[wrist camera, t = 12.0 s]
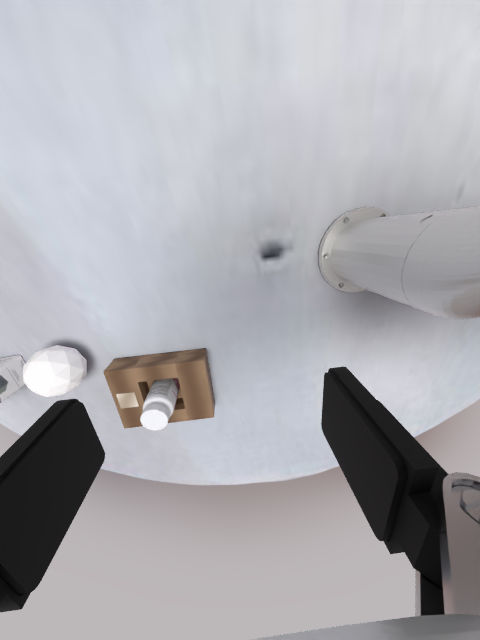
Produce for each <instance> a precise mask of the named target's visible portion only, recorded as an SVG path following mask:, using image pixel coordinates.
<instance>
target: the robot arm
mask: <svg viewBox="0 0 480 640" xmlns="http://www.w3.org/2000/svg"><path fill="white" fill-rule="evenodd" d="M343 220H344V223H343ZM323 255H325V257H323ZM318 260H319V267H320V271H321V273H322V275H323V277H324V279H325V280H326V281H327V282H328V283H329V284H330V285H331V286H333V287H334V288H336V289H338V290H341V291H344V292H351V293H354V292H361V291H365V290H368V291H371V292H374V293H376V294H379V295H382V296H384V297H387V298H389V299H392V300H395V301H397V302H400V303H403V304H405V305H408V306H410V307H413V308H416V309H418V310H421V311H424V312H427V313H429V314H432V315H435V316H439V317H443V318H449V319H470V318H477V317H480V206H474V207H466V208H457V209H448V210H439V211H431V212H422V213H413V214H404V215H395V216H390V215H389V214H388V213H387V212H385V211H383V210H381V209H378V208H374V207H364V208H358V209H355V210H351V211H349V212H347V213H345V214H343V215H342V216H341V217H339V218H338V219H337V220H335V221H334V223H333V224H332V225H331V226H330V227H329V228H328V230H327V231H326V233H325V235H324V237H323V239H322V241H321V245H320V248H319V256H318ZM339 283H340V284H339ZM321 424H322V430H323V433H324V435H325V437H326V439H327V441H328V443H329V445H330V447H331V449H332V451H333V453H334V455H335V457H336V459H337V461H338V463H339V465H340V467H341V469H342V471H343V473H344V475H345V477H346V478H347V481H348V483H349V485H350V487H351V489H352V491H353V493H354V495H355V497H356V499H357V501H358V503H359V505H360V507H361V508H362V511H363V513H364V515H365V517H366V519H367V521H368V522H369V524H370V526H371V528H372V530H373V532H374V534H375V536H376V537H377V539H379V541H384V543H385V545H386V546H387V548H388V550H389V552H390V554H394V553H401V552H405V553H406V555H407V557H408V559H409V561H410V562H411V564H412V566H413V568H415V569H416V617H409V618H400V619H392V620H384V621H376V622H368V623H360V624H352V625H344V626H338V627H332V628H325V629H318V630H311V631H305V632H299V633H292V634H286V635H279V636H273V637H266V638H259V639H252V640H480V477H477V476H474V475H471V474H467V473H457V472H456V473H452V474H447V473H446V472H445V470H444V469H443V468H442V467H441V466H440V465H439V464H438V463H437V462H436V461H435V460H434V459H433V458H432V457H431V456H430V455H429V453H428V452H427V451H426V450H425V449H424V448H423V447H422V446H421V445H420V444H419V443H418V442H417V441H416V440H415V439H414V437H413V436H412V435H411V434H410V433H409V432H408V431H407V430H406V429H405V428H404V427H403V426H402V425H401V424H400V423H399V422H398V420H397V419H396V418H395V417H394V416H393V415H392V414H391V413H390V412H389V411H388V410H387V409H386V408H385V407H384V406H383V404H382V403H380V402H379V401H378V400H376V399H375V398H374V397H373V396H372V395H371V394H370V392H369V391H368V390H367V389H366V388H365V387H364V386H363V385H362V384H361V383H360V382H359V381H358V380H357V378H356V377H355V376H354V375H353V374H352V373H351V372H350V371H349V370H348V369H347V368H346V367H337V368H330V369H329V371H328V373H325V375H324V390H323V407H322V423H321ZM104 459H105V452H104V449H103V447H102V445H101V443H100V440H99V438H98V436H97V434H96V431H95V429H94V427H93V425H92V422H91V420H90V418H89V416H88V413H87V411H86V409H85V407H84V405H83V403H81V402H79V400H77V399H69V400H60V401H57V402H56V403H54V404H53V405H52V406H51V407H50V408H49V409H48V410H47V411H46V412H45V413H44V414H43V415H42V416H41V417H40V418H39V419H38V420H37V421H36V422H35V423H34V424H33V425H32V426H31V427H30V428H29V429H28V430H27V431H26V432H25V433H24V434H23V435H22V436H21V437H20V438H19V439H18V440H17V441H16V442H15V443H14V444H13V445H12V446H11V447H10V448H9V449H8V450H7V451H6V452H5V453H4V454H3V455H2V456H1V457H0V612H6V611H12V610H19V609H22V608H23V606H24V604H25V602H26V600H27V598H28V597H29V595H30V593H31V592H32V591H33V590H35V588H36V587H37V586H38V585H39V583H40V581H41V580H42V578H43V576H44V574H45V572H46V570H47V568H48V566H49V564H50V563H51V561H52V559H53V557H54V555H55V553H56V551H57V549H58V547H59V545H60V544H61V542H62V540H63V538H64V536H65V534H66V532H67V530H68V528H69V527H70V525H71V523H72V521H73V519H74V517H75V515H76V513H77V511H78V509H79V507H80V506H81V504H82V502H83V500H84V498H85V496H86V494H87V492H88V491H89V488H90V487H91V485H92V483H93V481H94V479H95V477H96V475H97V473H98V472H99V470H100V468H101V466H102V464H103V462H104Z"/></svg>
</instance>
